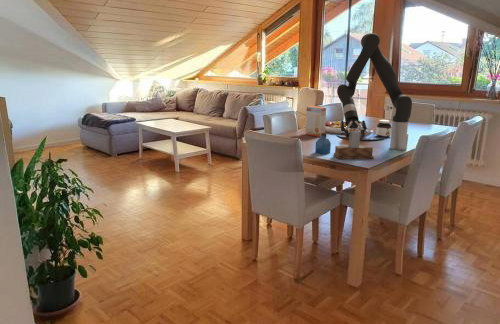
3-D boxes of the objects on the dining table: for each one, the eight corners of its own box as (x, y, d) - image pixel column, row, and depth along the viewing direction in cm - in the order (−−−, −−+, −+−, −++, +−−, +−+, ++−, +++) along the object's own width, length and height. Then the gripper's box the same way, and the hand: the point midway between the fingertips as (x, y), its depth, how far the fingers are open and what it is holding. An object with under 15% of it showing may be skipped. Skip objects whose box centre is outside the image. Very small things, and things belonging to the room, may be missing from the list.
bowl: (355, 127, 315) (356, 118, 313) (365, 135, 286) (366, 124, 284) (318, 127, 316) (318, 118, 314) (324, 135, 287) (324, 124, 285)
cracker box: (325, 136, 280) (326, 107, 275) (319, 137, 277) (321, 108, 271) (310, 133, 291) (311, 105, 285) (305, 134, 287) (306, 106, 281)
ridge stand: (367, 154, 229) (367, 144, 228) (373, 159, 220) (374, 148, 218) (333, 155, 228) (334, 145, 226) (338, 159, 218) (339, 149, 216)
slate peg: (356, 145, 224) (357, 130, 222) (359, 147, 220) (360, 132, 218) (348, 146, 224) (349, 130, 222) (351, 147, 220) (352, 132, 217)
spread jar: (379, 137, 276) (380, 121, 273) (371, 134, 287) (372, 119, 284) (394, 137, 278) (396, 121, 275) (386, 134, 289) (387, 118, 286)
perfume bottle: (322, 154, 229) (323, 134, 226) (315, 152, 234) (316, 133, 230) (330, 153, 232) (331, 133, 229) (322, 151, 237) (323, 131, 234)
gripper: (340, 109, 223) (345, 133, 215) (364, 109, 224) (370, 132, 216) (336, 117, 230) (341, 140, 222) (360, 117, 231) (365, 140, 223)
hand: (355, 136), depth 219 cm, fingers open, 8 cm apart
